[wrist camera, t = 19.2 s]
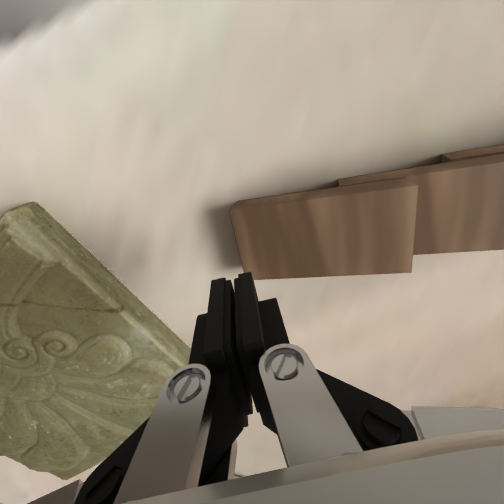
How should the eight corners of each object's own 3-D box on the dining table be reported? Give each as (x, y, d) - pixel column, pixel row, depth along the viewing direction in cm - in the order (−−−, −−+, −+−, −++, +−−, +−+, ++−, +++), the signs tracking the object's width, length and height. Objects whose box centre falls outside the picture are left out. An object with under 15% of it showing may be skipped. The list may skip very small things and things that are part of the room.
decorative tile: (41, 195, 16) (-6, 208, 13) (223, 372, 24) (222, 408, 21) (-131, 332, 19) (-204, 371, 16) (79, 452, 27) (58, 495, 24)
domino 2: (343, 258, 17) (533, 247, 14) (339, 186, 15) (559, 153, 12) (342, 246, 19) (511, 233, 16) (338, 179, 17) (531, 149, 14)
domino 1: (245, 280, 17) (411, 272, 15) (229, 210, 15) (418, 185, 13) (252, 265, 19) (401, 256, 16) (237, 201, 17) (405, 177, 14)
